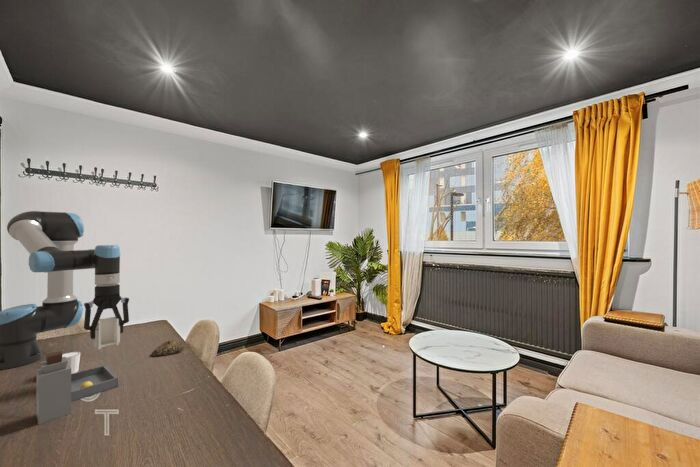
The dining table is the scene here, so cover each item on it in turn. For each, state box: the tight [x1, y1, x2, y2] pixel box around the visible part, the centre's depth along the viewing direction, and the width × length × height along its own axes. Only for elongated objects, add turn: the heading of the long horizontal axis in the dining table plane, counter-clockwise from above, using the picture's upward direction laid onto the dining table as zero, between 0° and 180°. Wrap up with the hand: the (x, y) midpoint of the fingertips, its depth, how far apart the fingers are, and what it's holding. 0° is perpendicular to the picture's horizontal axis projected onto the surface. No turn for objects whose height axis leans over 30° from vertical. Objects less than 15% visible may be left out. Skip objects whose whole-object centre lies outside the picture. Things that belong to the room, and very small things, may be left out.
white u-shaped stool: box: [96, 316, 120, 350], centre depth 115 cm, size 6×6×10 cm
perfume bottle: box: [35, 350, 72, 425], centre depth 89 cm, size 7×7×18 cm
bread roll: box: [151, 339, 184, 357], centre depth 138 cm, size 13×12×5 cm
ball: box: [80, 381, 93, 389], centre depth 101 cm, size 3×3×3 cm
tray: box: [71, 364, 119, 403], centre depth 104 cm, size 18×16×3 cm
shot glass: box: [62, 351, 81, 374], centre depth 116 cm, size 7×7×7 cm
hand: (107, 344), depth 115 cm, fingers closed on white u-shaped stool, 6 cm apart
